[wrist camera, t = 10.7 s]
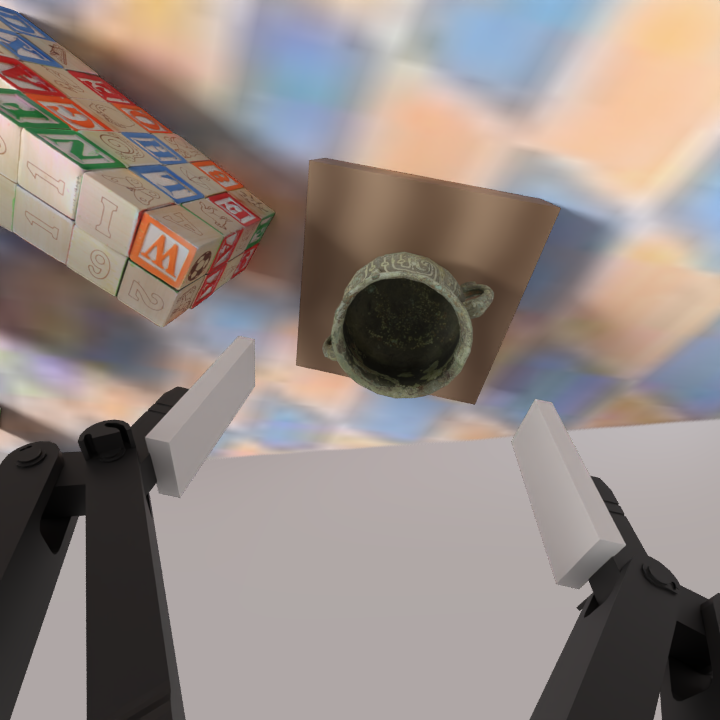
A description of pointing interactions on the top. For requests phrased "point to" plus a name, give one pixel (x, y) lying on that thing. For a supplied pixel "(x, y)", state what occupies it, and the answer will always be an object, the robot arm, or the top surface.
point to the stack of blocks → (113, 184)
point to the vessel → (405, 325)
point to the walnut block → (416, 250)
